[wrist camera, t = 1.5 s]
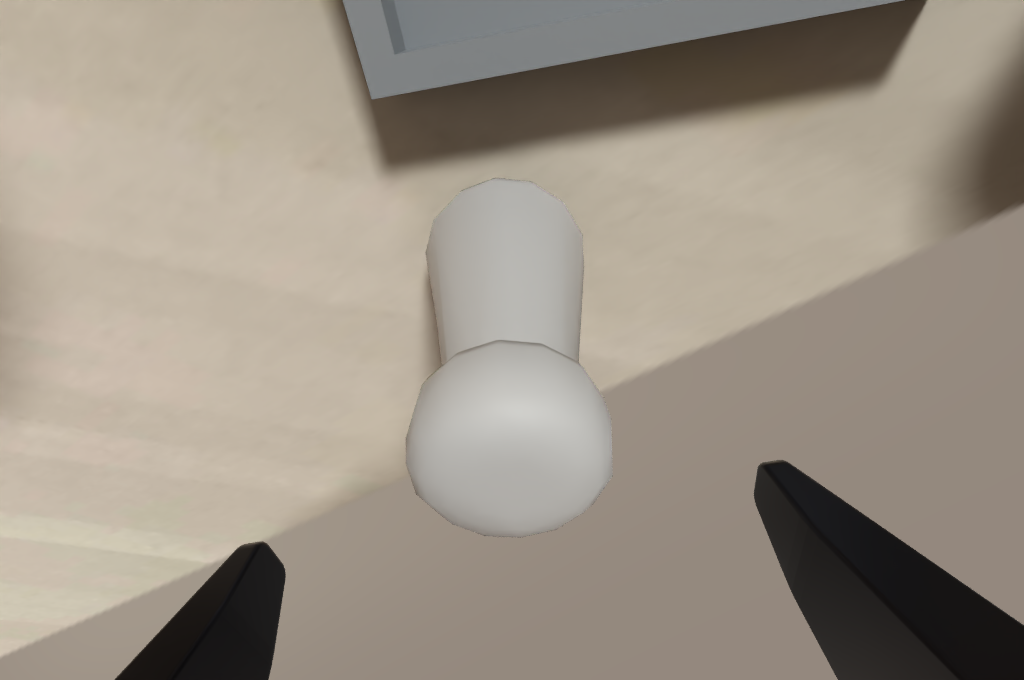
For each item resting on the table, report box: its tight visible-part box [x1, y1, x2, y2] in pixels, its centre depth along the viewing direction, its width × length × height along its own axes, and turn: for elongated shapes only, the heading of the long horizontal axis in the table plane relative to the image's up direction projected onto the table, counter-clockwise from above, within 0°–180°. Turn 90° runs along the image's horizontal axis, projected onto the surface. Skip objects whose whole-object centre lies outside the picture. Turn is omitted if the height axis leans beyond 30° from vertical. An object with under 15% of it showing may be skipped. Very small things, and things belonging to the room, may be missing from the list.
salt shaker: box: [406, 178, 612, 537], centre depth 15 cm, size 6×6×13 cm
